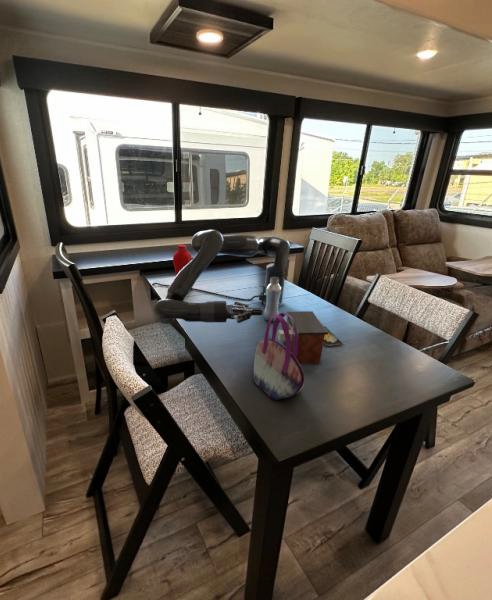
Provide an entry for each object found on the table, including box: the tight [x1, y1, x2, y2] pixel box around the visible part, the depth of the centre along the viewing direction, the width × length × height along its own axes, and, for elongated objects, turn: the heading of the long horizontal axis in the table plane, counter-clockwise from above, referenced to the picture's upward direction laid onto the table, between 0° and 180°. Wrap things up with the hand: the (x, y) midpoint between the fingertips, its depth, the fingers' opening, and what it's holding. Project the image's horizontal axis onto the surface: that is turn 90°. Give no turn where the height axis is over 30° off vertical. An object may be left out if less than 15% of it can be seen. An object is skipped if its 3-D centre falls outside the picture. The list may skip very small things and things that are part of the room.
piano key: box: [277, 329, 293, 342], centre depth 114 cm, size 6×3×3 cm, turn 94°
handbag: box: [253, 312, 306, 401], centre depth 94 cm, size 21×10×25 cm, turn 31°
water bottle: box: [172, 244, 193, 278], centre depth 167 cm, size 9×11×25 cm
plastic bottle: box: [263, 277, 281, 322], centre depth 137 cm, size 6×7×20 cm
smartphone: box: [323, 325, 343, 347], centre depth 128 cm, size 7×1×15 cm
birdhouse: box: [284, 310, 328, 365], centre depth 115 cm, size 10×17×13 cm, turn 4°
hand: (261, 311), depth 109 cm, fingers closed
